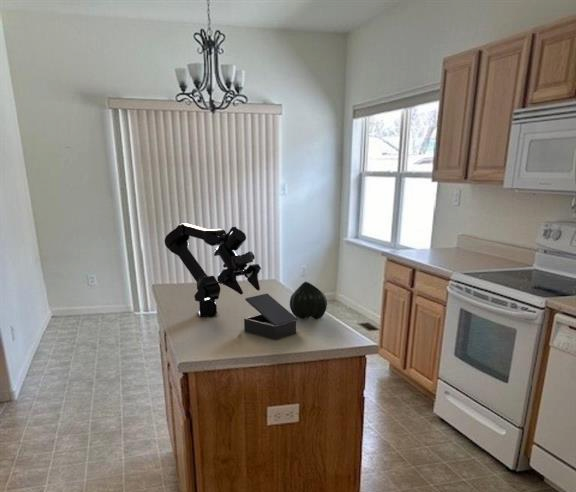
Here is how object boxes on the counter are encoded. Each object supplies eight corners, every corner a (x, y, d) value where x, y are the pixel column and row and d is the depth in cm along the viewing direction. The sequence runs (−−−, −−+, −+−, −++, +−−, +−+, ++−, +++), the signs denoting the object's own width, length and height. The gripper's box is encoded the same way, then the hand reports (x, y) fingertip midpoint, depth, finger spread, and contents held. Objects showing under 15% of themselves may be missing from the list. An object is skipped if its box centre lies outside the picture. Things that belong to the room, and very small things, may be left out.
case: (244, 330, 199) (244, 318, 197) (265, 324, 207) (265, 312, 205) (275, 339, 189) (275, 326, 187) (296, 332, 197) (296, 320, 196)
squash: (323, 311, 206) (326, 277, 211) (285, 310, 208) (289, 277, 213) (326, 327, 219) (329, 295, 224) (290, 326, 222) (294, 294, 227)
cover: (244, 299, 194) (245, 298, 193) (266, 294, 202) (267, 293, 202) (275, 326, 188) (275, 324, 187) (296, 320, 196) (296, 318, 195)
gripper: (222, 247, 190) (244, 282, 187) (257, 242, 203) (278, 275, 201) (207, 266, 197) (228, 300, 195) (242, 260, 211) (263, 292, 209)
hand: (250, 291), depth 200 cm, fingers open, 9 cm apart
